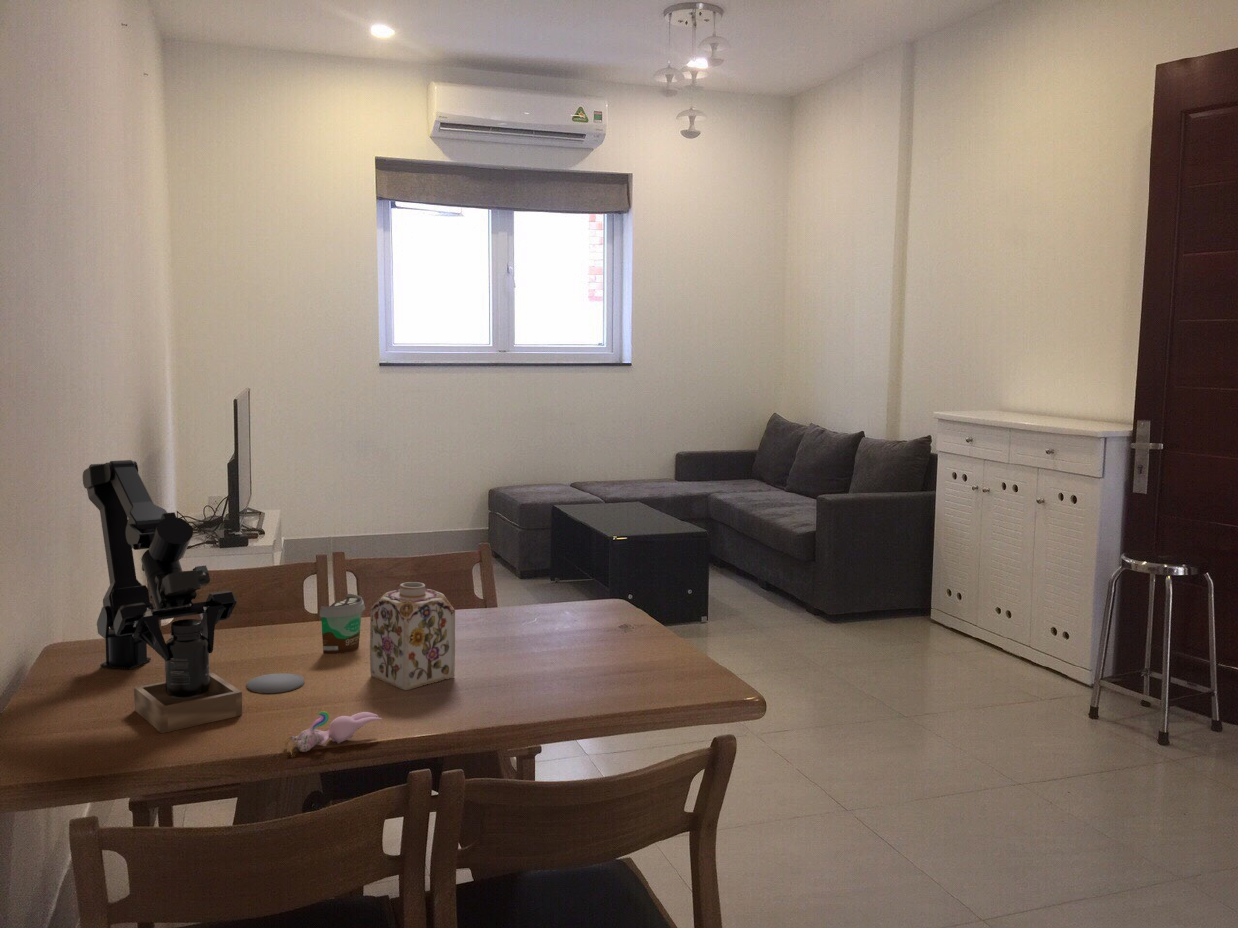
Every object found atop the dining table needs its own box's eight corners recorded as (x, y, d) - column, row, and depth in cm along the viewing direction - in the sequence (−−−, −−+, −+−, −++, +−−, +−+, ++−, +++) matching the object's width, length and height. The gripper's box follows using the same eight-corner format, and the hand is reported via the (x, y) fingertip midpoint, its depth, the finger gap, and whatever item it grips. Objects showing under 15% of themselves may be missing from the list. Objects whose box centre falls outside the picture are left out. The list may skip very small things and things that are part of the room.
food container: (348, 658, 201) (348, 609, 200) (319, 655, 202) (319, 606, 201) (375, 641, 213) (375, 595, 212) (348, 638, 214) (348, 592, 213)
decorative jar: (368, 676, 190) (368, 583, 188) (419, 663, 199) (419, 574, 197) (405, 692, 182) (406, 595, 180) (457, 678, 191) (458, 585, 189)
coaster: (235, 690, 181) (235, 687, 181) (266, 673, 191) (266, 671, 190) (285, 695, 179) (285, 693, 179) (314, 678, 188) (314, 676, 188)
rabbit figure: (295, 767, 152) (388, 733, 160) (288, 731, 151) (383, 698, 159) (283, 753, 157) (374, 720, 165) (276, 718, 156) (368, 687, 164)
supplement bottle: (218, 690, 170) (217, 621, 169) (182, 702, 164) (180, 630, 163) (193, 682, 174) (192, 614, 172) (156, 693, 168) (155, 623, 167)
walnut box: (134, 710, 170) (134, 687, 169) (212, 694, 179) (212, 672, 178) (161, 733, 160) (160, 708, 160) (242, 714, 169) (241, 691, 169)
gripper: (117, 557, 163) (141, 640, 156) (232, 545, 175) (259, 621, 169) (103, 595, 169) (126, 676, 163) (215, 580, 182) (240, 654, 175)
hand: (189, 655), depth 167 cm, fingers closed on supplement bottle, 7 cm apart
